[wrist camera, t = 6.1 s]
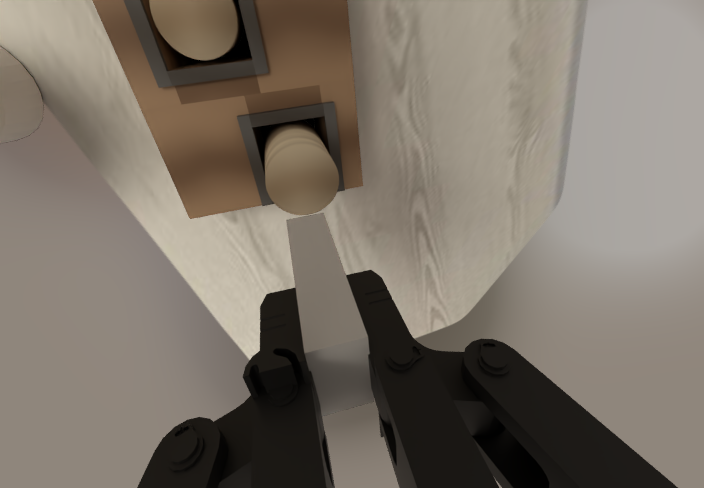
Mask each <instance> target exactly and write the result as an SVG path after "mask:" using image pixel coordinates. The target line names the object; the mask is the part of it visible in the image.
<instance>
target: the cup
mask: <svg viewBox="0 0 704 488" xmlns="http://www.w3.org/2000/svg"><path fill="white" fill-rule="evenodd" d="M43 110H44V105H43V101H42V97H41V93H40V91H39V89H38V87H37V85H36V83H35V81H34V79H33V78H32V76H31V75H30V74H29V73H28V71H27V70H26V69H25V68H24V66H23V65H22V64H21V63H20V62H19V61H18V60H16V59H15V58H14V57H13V56H12V55H11V54H10V53H9V52H7V51H6V50H5V49H3V48H2V47H0V143H7V142H11V141H16V140H19V139H22V138H25V137H27V136H29V135H31V134H32V133H33V132H34V131H35V130H37V129H38V127H39V125H40V123H41V121H42V119H43Z"/></svg>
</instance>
